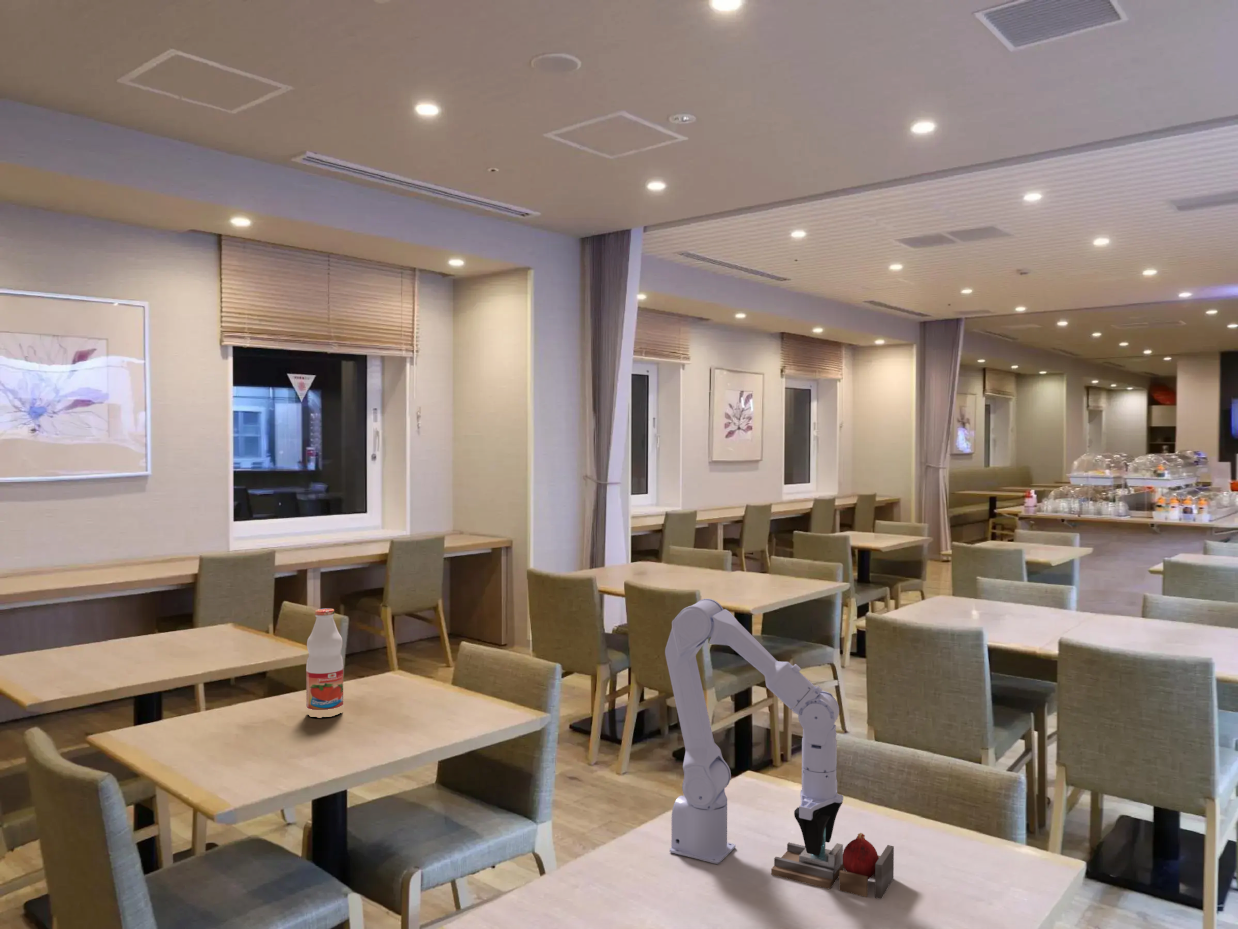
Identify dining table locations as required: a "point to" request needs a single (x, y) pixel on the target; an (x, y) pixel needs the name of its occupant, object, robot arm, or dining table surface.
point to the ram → (824, 856)
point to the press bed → (825, 877)
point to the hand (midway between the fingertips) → (818, 847)
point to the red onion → (860, 857)
